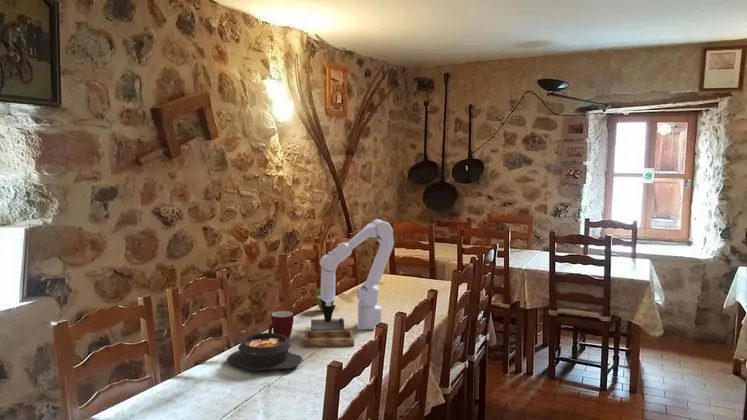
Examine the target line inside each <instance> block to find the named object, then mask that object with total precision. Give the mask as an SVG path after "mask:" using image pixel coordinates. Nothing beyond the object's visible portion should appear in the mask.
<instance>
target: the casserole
mask: <svg viewBox="0 0 747 420" xmlns="http://www.w3.org/2000/svg"><path fill="white" fill-rule="evenodd" d="M291 346H292V344H291V343H290V342H289V339H287V337H286V336H284V335H281V334H277V333H273V332H272V333H269V332H261V333H260V332H259V333H253V334H250V335H247V336H245V337H243V338H242V340H241V342H240V344H239V345H238V346H237V347H238V348H237V349H238V350H236V351H234V352H232V353H231V354H229V355H228V357H227V358H226V361H227V362H228V363H229V364H233V365H237V366H239V367H241V368H243V369H247V370H250V371H251V370H252V371H262V372H264V371H271V370H290V369H292V368H295V367H297V366H299V365H300V364H301V363H302V362H303V357H302V356H301V355H300V354H297V353H291V352H290V351H289V349H290V348H291Z"/></svg>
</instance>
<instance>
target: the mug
mask: <svg viewBox="0 0 747 420" xmlns="http://www.w3.org/2000/svg"><path fill="white" fill-rule="evenodd" d="M293 325H294V312H292V311H288V310H280V311H279V310H278V311H274V312H272V313H271V324H270V325H269V327H268V332H267V333H277V334H281V335H284V336H286V337H287V339H288V340H289V338H291V335H292V332H293Z"/></svg>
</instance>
